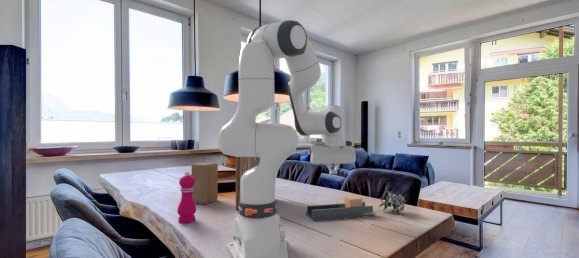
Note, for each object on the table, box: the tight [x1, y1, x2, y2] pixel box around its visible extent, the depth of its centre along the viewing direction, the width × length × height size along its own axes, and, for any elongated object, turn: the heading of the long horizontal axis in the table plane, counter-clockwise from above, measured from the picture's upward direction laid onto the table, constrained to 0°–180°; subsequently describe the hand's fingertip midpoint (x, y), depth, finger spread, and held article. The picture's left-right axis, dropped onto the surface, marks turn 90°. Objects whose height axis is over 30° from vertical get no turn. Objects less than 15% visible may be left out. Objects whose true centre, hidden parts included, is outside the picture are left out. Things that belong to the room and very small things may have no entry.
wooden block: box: [191, 162, 219, 205], centre depth 137 cm, size 10×10×20 cm
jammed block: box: [344, 195, 363, 208], centre depth 117 cm, size 6×5×6 cm
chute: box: [305, 201, 376, 222], centre depth 115 cm, size 28×10×4 cm, turn 104°
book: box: [235, 157, 260, 211], centre depth 134 cm, size 25×9×30 cm, turn 166°
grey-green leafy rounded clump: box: [378, 190, 407, 216], centre depth 119 cm, size 11×11×12 cm
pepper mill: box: [177, 171, 197, 224], centre depth 107 cm, size 7×7×20 cm
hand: (333, 174), depth 114 cm, fingers closed
